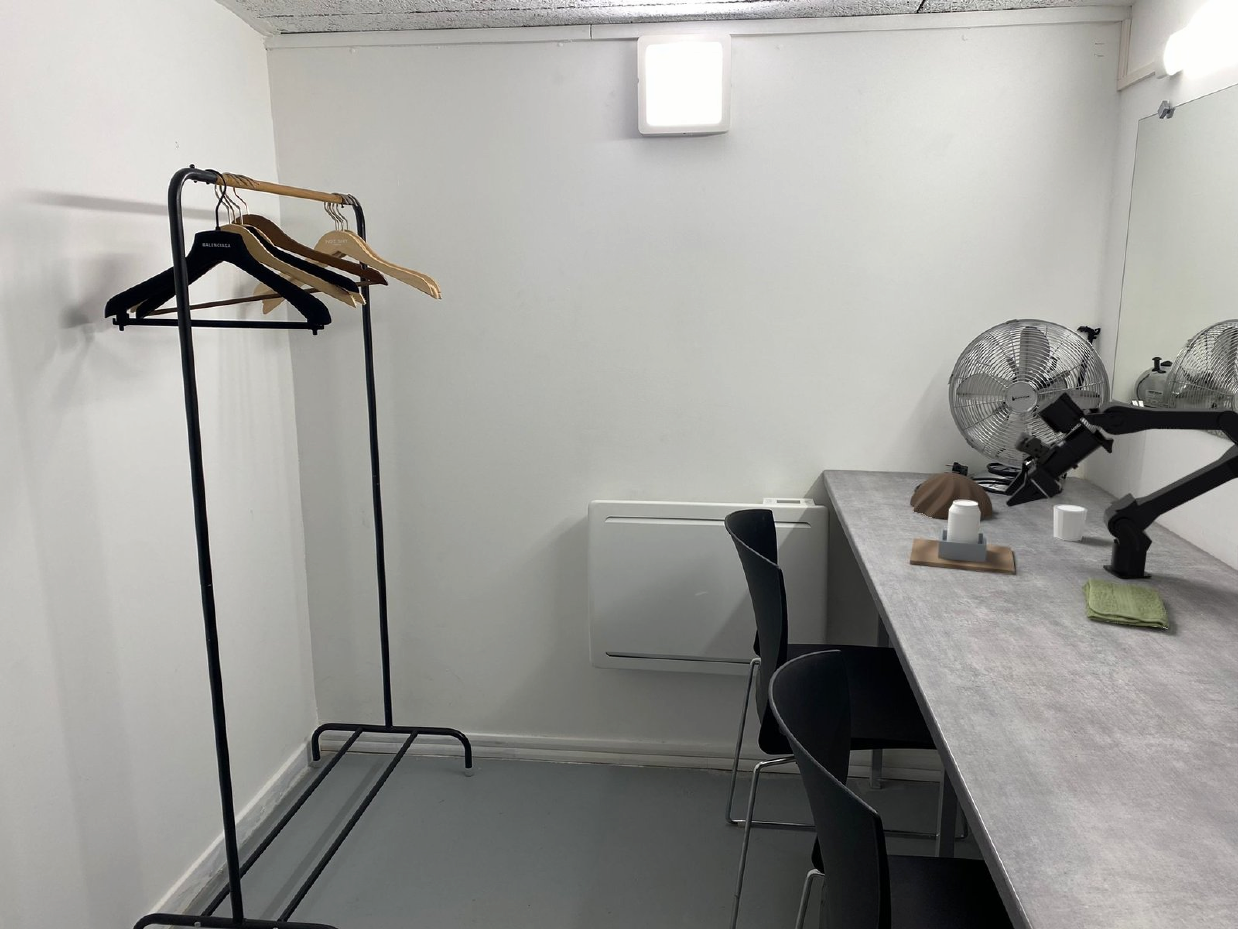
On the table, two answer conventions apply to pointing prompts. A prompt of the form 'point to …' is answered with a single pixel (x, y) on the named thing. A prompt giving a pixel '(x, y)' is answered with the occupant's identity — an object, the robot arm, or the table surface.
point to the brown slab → (995, 560)
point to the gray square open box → (962, 548)
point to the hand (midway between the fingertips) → (1006, 499)
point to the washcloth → (1124, 604)
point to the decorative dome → (949, 495)
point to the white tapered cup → (1069, 522)
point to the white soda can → (964, 522)
